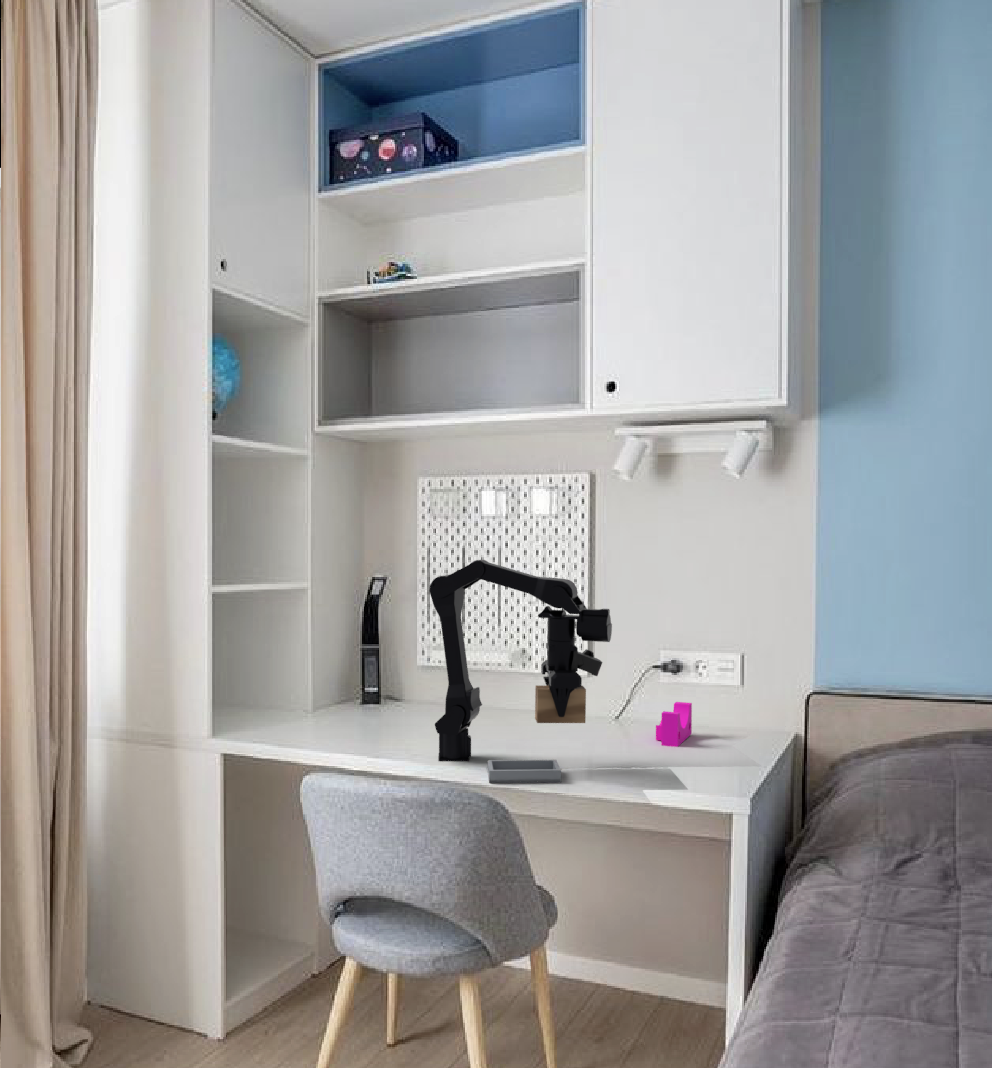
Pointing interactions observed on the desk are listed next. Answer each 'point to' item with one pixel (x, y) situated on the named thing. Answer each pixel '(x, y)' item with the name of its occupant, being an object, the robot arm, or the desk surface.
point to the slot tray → (524, 771)
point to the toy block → (675, 725)
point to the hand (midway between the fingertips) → (559, 714)
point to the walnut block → (547, 709)
